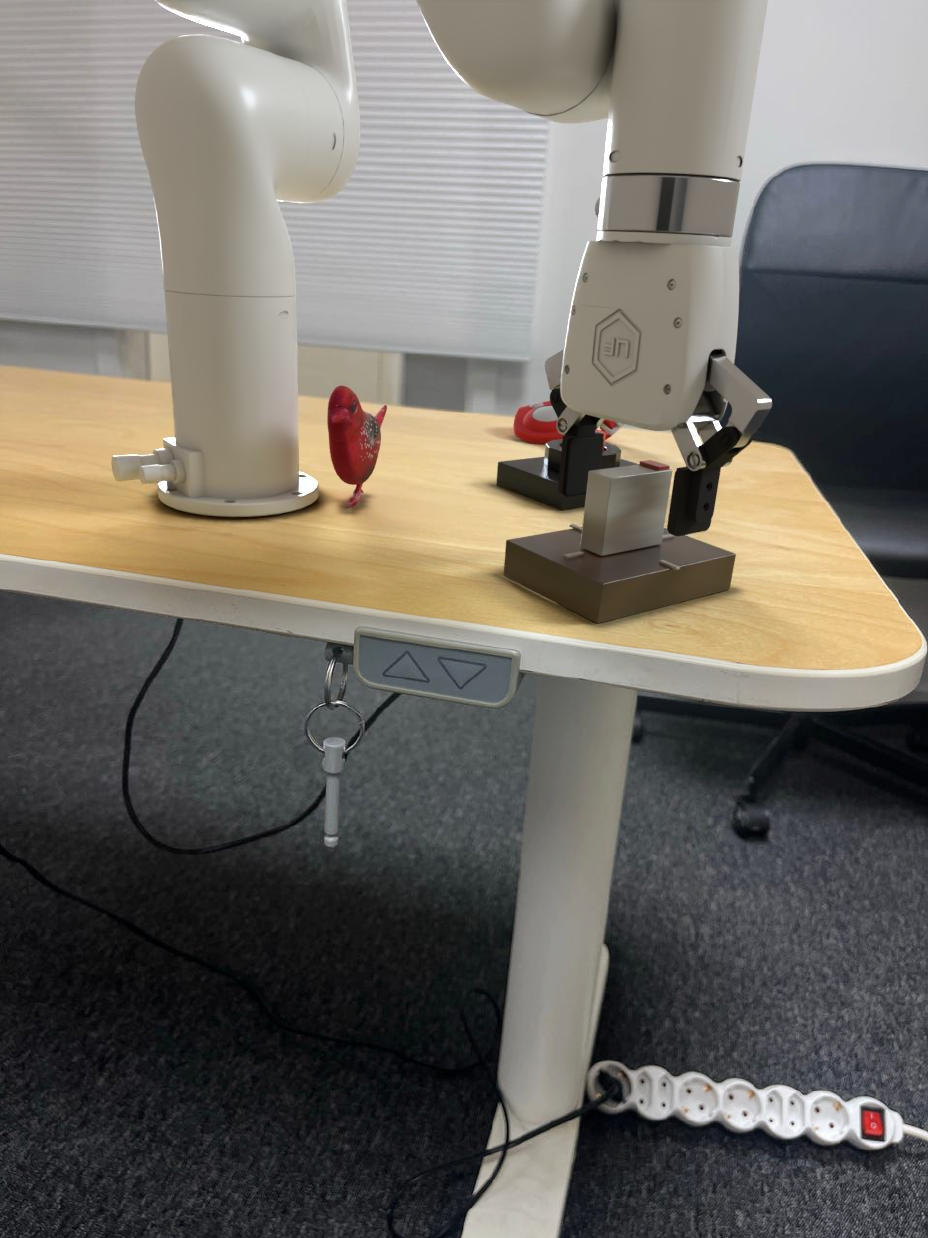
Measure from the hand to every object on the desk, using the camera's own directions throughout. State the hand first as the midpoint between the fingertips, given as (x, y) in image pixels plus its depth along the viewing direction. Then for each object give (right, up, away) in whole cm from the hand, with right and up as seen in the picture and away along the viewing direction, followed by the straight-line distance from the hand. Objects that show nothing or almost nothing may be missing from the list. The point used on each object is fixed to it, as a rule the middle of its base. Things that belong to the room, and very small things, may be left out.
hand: (629, 511), depth 57 cm
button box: (0, +5, +24) cm, 24 cm away
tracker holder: (+1, +13, +45) cm, 47 cm away
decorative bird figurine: (-19, +3, +18) cm, 26 cm away
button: (0, +8, +22) cm, 24 cm away
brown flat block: (-1, -4, +2) cm, 5 cm away
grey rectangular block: (0, -2, +1) cm, 2 cm away
